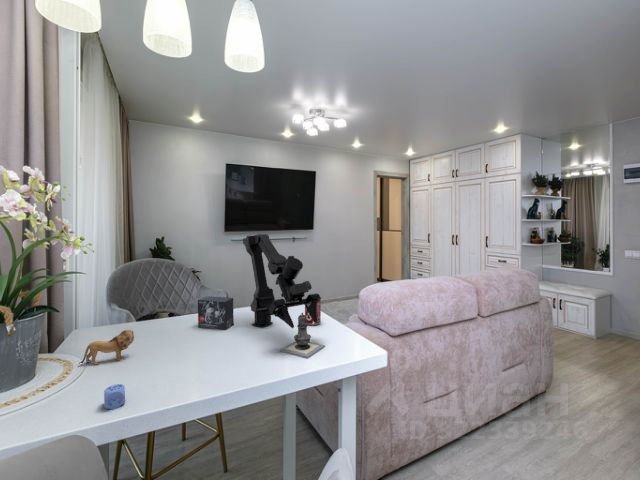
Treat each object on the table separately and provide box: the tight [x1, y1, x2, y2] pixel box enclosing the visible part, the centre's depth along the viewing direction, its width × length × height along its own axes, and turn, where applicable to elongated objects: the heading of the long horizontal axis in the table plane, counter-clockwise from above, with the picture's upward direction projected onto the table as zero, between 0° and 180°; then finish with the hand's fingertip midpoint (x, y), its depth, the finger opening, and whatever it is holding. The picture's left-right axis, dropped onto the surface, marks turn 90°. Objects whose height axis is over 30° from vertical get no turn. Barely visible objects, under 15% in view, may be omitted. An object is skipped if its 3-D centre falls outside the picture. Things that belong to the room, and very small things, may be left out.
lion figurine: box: [78, 328, 135, 366], centre depth 97 cm, size 15×5×9 cm, turn 123°
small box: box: [197, 295, 235, 331], centre depth 129 cm, size 13×7×12 cm, turn 76°
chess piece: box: [293, 312, 312, 350], centre depth 105 cm, size 6×6×12 cm
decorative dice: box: [103, 383, 126, 410], centre depth 73 cm, size 4×4×4 cm
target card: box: [280, 340, 326, 359], centre depth 106 cm, size 11×11×1 cm
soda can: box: [304, 294, 322, 326], centre depth 133 cm, size 7×7×12 cm
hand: (304, 324), depth 104 cm, fingers open, 9 cm apart
